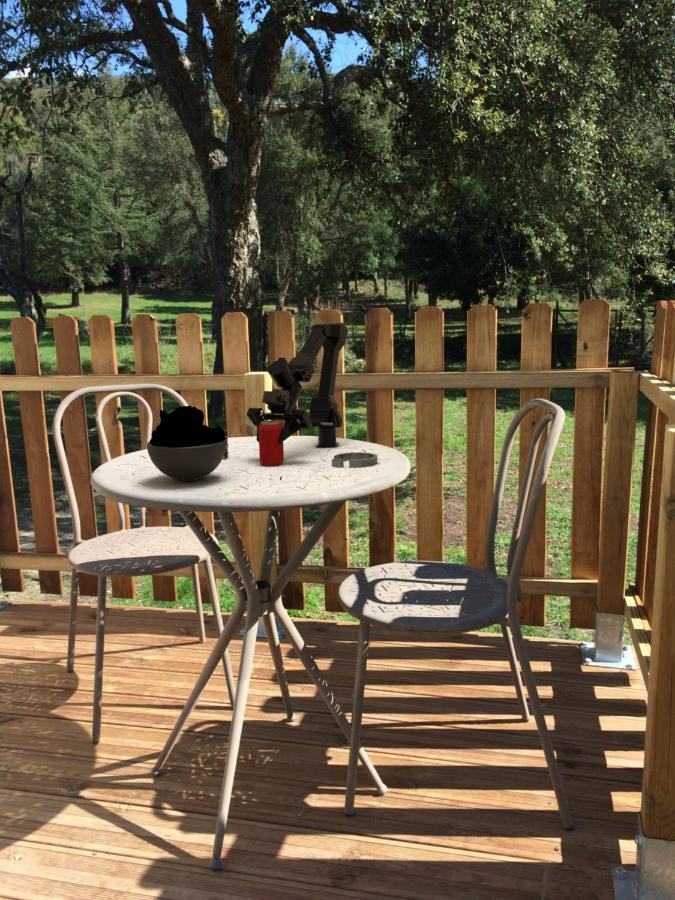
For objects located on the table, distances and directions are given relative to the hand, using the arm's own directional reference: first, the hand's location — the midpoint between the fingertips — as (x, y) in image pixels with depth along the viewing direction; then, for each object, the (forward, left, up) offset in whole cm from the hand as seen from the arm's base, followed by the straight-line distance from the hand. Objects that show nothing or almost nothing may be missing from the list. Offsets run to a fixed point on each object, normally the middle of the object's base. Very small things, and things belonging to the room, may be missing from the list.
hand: (268, 441), depth 210 cm
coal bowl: (+19, -18, -7) cm, 27 cm away
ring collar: (-1, +24, -7) cm, 25 cm away
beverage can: (-1, +1, -7) cm, 7 cm away
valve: (-11, -20, -7) cm, 24 cm away
